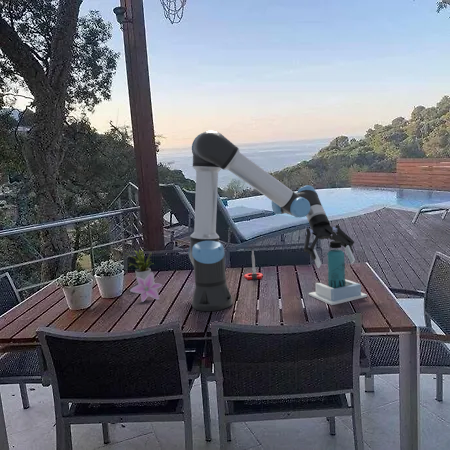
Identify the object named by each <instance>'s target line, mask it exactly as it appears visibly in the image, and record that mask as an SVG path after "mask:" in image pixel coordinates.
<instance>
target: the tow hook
mask: <svg viewBox="0 0 450 450" xmlns="http://www.w3.org/2000/svg"><path fill="white" fill-rule="evenodd" d="M254 253H255V252H254V250H251V264H252V268H251V272H250V273H246V274H244V275H243V277H244V278H245V279H246V280H247V281H250V280H253V279H254V280H261V279H263V276H264V274H263V273H261V272H257V270H256V269H257V268H256V259H255V254H254ZM249 275H250V276H249Z"/></svg>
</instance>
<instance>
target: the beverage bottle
mask: <svg viewBox="0 0 450 450" xmlns="http://www.w3.org/2000/svg"><path fill="white" fill-rule="evenodd" d="M329 248H331V250H329V251H328V252H327V286H329V287H332V288H334V289H335V288H339V287H344V286H345V281H346V280H345V279H346V264H345V263H346V262H345V252H344V251H343V250H341V248H342V245H341V242H340V241H334V240H331V241H330V243H329Z"/></svg>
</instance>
